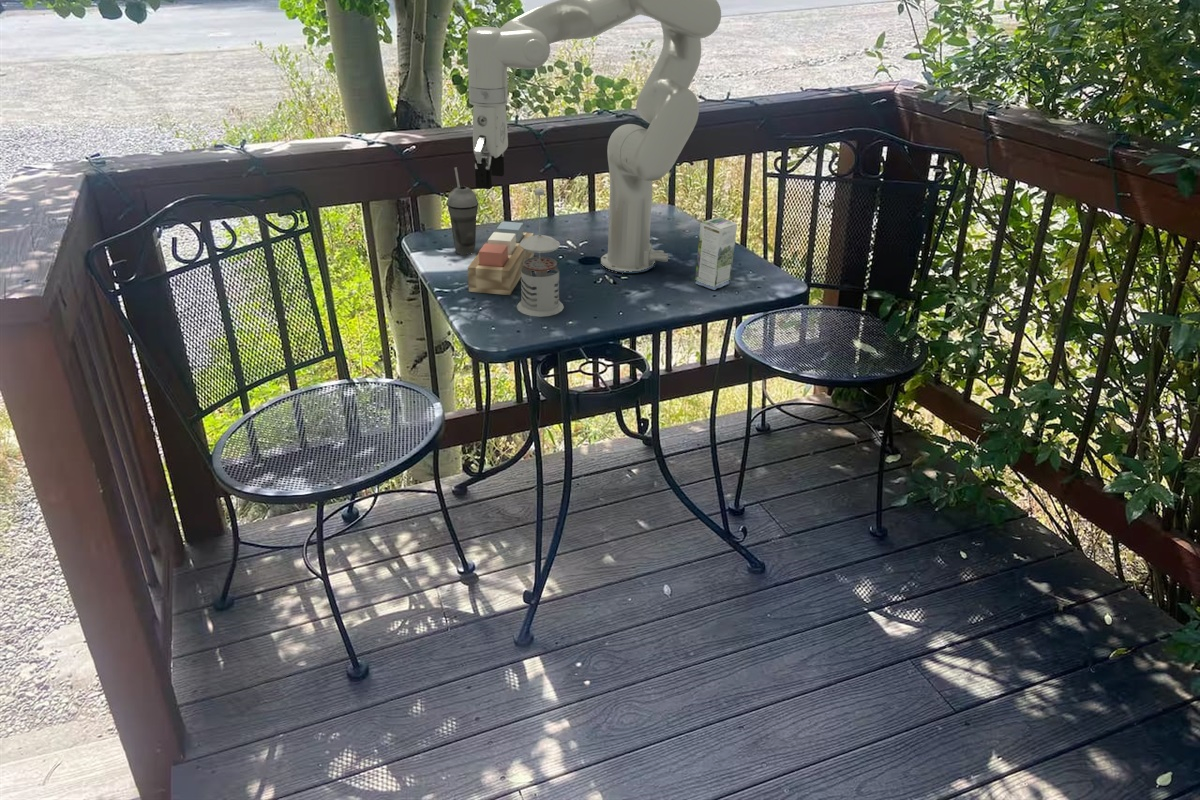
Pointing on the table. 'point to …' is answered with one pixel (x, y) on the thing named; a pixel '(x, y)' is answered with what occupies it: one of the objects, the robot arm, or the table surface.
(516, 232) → the blue key
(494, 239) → the white key
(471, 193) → the beverage cup
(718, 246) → the syrup box
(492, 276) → the key box
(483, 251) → the red key
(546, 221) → the table surface
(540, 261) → the french press
